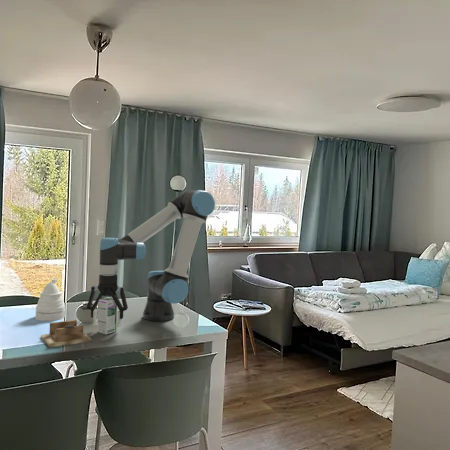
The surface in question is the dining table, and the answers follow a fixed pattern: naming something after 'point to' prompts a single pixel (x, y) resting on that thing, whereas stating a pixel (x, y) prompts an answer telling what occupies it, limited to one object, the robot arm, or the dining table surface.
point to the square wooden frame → (65, 334)
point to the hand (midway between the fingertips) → (106, 325)
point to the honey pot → (50, 303)
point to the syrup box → (107, 315)
